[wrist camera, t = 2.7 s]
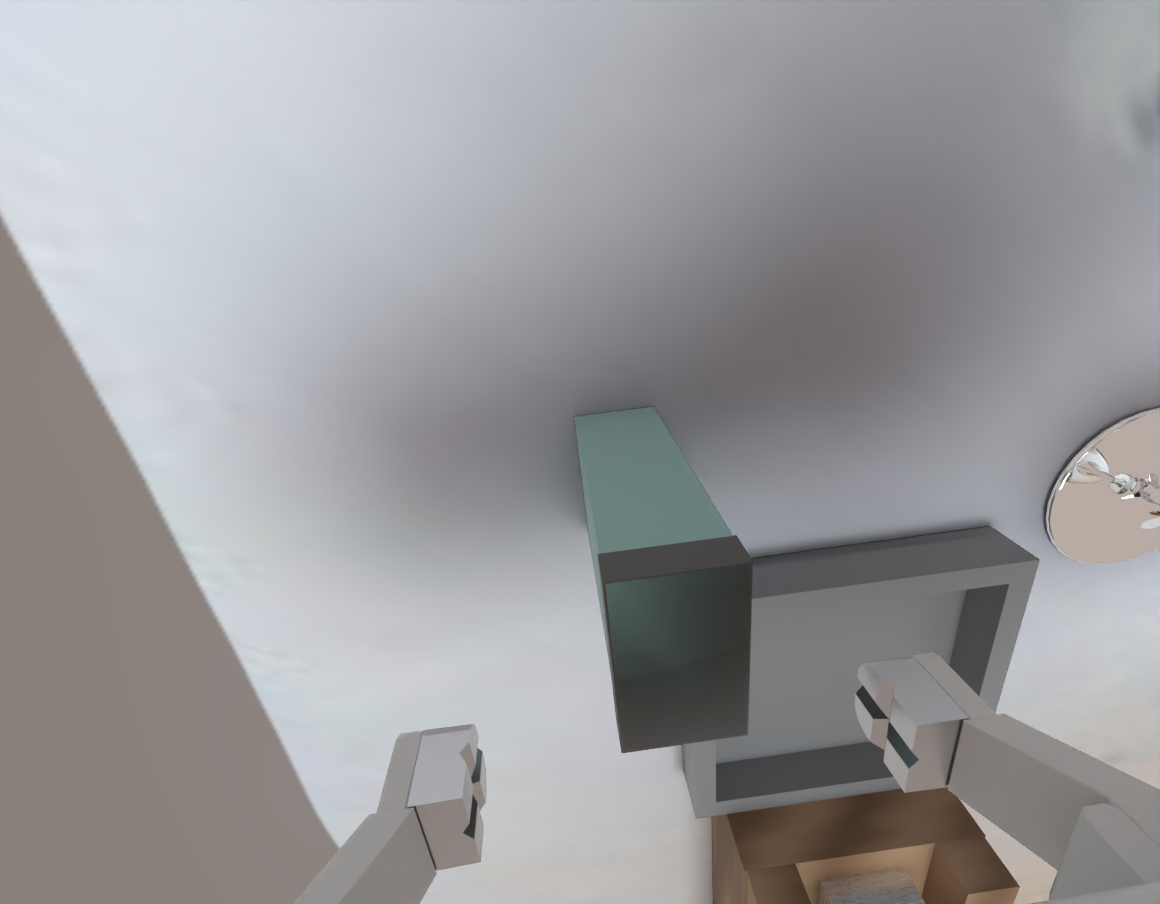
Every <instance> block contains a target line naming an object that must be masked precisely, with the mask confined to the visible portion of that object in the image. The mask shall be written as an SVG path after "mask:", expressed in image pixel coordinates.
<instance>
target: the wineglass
mask: <svg viewBox="0 0 1160 904" xmlns="http://www.w3.org/2000/svg"><path fill="white" fill-rule="evenodd" d="M1046 526H1047V532H1048V534H1049V537H1050V539H1051V542H1052V543H1053V544H1054V546H1055V547H1056V548H1057V549H1058V551H1059V552H1061V553H1062V554H1064V555H1065V556H1067V557H1068V558H1070V559H1072V560H1075V561H1078V562H1082V563H1086V564H1096V565H1102V564H1114V563H1119V562H1123V561H1127V560H1131V559H1134V558H1136V557H1139V556H1142V555H1144V554H1147V553H1149V552H1151V551H1153V550H1155V549H1157V548H1158V547H1160V408H1156V409H1152V410H1148V411H1144V412H1140V413H1138V414H1136V415H1133V416H1131V417H1128V418H1126V419H1123V420H1121V421H1120V422H1118V423H1116V424H1115V425H1113V426H1111V427H1109V428H1108V429H1106V430H1104V431H1103V432H1102V433H1100V434H1099V435H1098V436H1096V437H1095V438H1094V439H1093V440H1091V441H1090V442H1089V443H1087V444H1086V445H1085V446H1084V447H1083V448H1082V449H1081V450H1080V451H1079V452H1078V453H1077V454H1076V455H1075V456H1074V457H1073V459H1072V460H1071V461H1070V462H1069V464H1068V465H1067V466H1066V468H1065V469H1064V470H1063V471H1062V473H1061V475H1060V477H1059V478H1058V480H1057V482H1056V484H1055V485H1054V487H1053V490H1052V492H1051V495H1050V498H1049V501H1048V504H1047V511H1046Z"/></svg>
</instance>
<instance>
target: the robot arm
mask: <svg viewBox="0 0 1160 904" xmlns="http://www.w3.org/2000/svg"><path fill="white" fill-rule="evenodd" d="M857 678H858V679H859V680H860V682H861V683H862V687H861V688H860V689H859V690H858V691H857V692H856V693H855V710H856V714H857V718H858V721H859V723H860V725H861V727H862V729H863V731H864V733H865V734H866V736H867V737H868V739H869V741H870V742H872V743H873V744H875V745H877V746H878V747H880V748H881V749H883V750H884V761H883V762H884V763H885V765H886V766H887V767H888V769H889V770H890V772H891V773H892V775H893V776H894V778H895V779H896V781H897V782H898V784H899V785H900V787H901V788H902V790H903V791H904V793H907V792H914V791H922V790H929V789H937V788H945V787H948V789H947V790H949V791H950V792H951V793H953V794H954V795H956V796H957V797H958V798H960V799H961V800H962V801H964V802H965V803H966V804H968V805H969V806H971V807H972V808H973V809H975V810H976V811H977V812H979V813H980V814H981V815H983V816H984V817H986V818H987V819H988V820H990V821H991V822H992V823H994V824H995V825H996V826H998V827H999V828H1001V829H1002V830H1003V831H1005V832H1006V833H1007V834H1009V835H1010V836H1011V837H1013V838H1014V839H1016V840H1017V841H1018V842H1020V843H1021V844H1022V845H1024V846H1025V847H1027V848H1028V849H1029V850H1031V851H1032V852H1033V853H1035V854H1036V855H1037V856H1039V857H1040V858H1042V859H1043V860H1044V861H1046V862H1047V863H1048V864H1050V865H1051V866H1052V867H1054V868H1055V869H1057V870H1058V872H1057V875H1056V877H1055V880H1054V883H1053V885H1052V888H1051V891H1050V896H1049V901H1043V902H1037V903H1032V904H1160V790H1159V789H1157V788H1155V787H1153V786H1151V785H1149V784H1147V783H1145V782H1143V781H1141V780H1139V779H1136V778H1134V777H1132V776H1130V775H1128V774H1126V773H1124V772H1122V771H1120V770H1118V769H1116V768H1114V767H1112V766H1110V765H1108V764H1106V763H1104V762H1102V761H1100V760H1098V759H1096V758H1093V757H1091V756H1089V755H1087V754H1085V753H1083V752H1081V751H1079V750H1077V749H1075V748H1073V747H1071V746H1069V745H1067V744H1065V743H1063V742H1061V741H1059V740H1057V739H1055V738H1053V737H1051V736H1048V735H1046V734H1044V733H1042V732H1040V731H1038V730H1036V729H1034V728H1032V727H1030V726H1028V725H1026V724H1024V723H1022V722H1020V721H1018V720H1016V719H1014V718H1012V717H1010V716H1008V715H1006V714H999V715H997V714H996V713H995V712H994V711H993V710H992V709H991V708H990V707H989V706H988V705H987V704H986V703H985V702H984V701H983V700H982V699H981V698H980V697H979V696H978V695H977V694H976V693H975V692H974V691H973V690H972V689H971V688H970V687H969V686H968V685H967V684H966V683H965V682H964V680H963V679H962V678H961V677H960V676H959V675H958V674H957V673H956V672H955V671H954V670H953V669H952V668H951V667H950V666H949V665H948V664H947V663H946V662H945V661H944V660H943V659H942V658H941V657H940V656H939V655H937V654H935V653H933V652H932V653H925V654H919V655H913V656H908V657H906V656H904V657H898V658H892V659H886V660H880V661H874V662H868V663H862V665H861V666H860V667H859V670H858V677H857ZM477 745H478V733H477V730H476V726H475V725H474V724H469V725H461V726H453V727H445V728H437V729H429V730H424V731H416V732H409V733H401V734H400V735H399V737H398V738H397V740H396V742H395V746H394V749H393V753H392V757H391V761H390V765H389V768H388V772H387V776H386V780H385V783H384V787H383V791H382V795H381V798H380V802H379V806H378V810H377V813H375V814H370V815H368V816H367V818H366V819H365V820H364V821H363V822H362V823H361V825H360V826H359V827H358V828H357V829H356V831H355V832H354V833H353V834H352V835H351V836H350V838H349V839H348V840H347V841H346V842H345V844H344V845H343V846H342V847H341V848H340V849H339V851H338V852H337V853H336V854H335V855H334V857H333V858H332V859H331V860H330V861H329V862H328V864H327V865H326V866H325V867H324V868H323V869H322V871H321V872H320V873H319V874H318V875H317V877H316V878H315V879H314V880H313V881H312V882H311V884H310V885H309V886H308V887H307V888H306V890H305V891H304V892H303V893H302V894H301V895H300V897H299V898H298V899H297V900H296V901H295V903H294V904H419V903H420V902H421V900H422V898H423V896H424V895H425V893H426V891H427V889H428V888H429V886H430V884H431V883H432V881H433V879H434V877H435V876H436V871H437V870H442V869H447V868H452V867H457V866H462V865H468V864H473V863H478V862H481V852H482V840H483V828H484V825H483V821H482V817H481V814H480V810H481V808H482V807H483V806H484V804H485V802H486V768H485V761H484V756H483V752H482V751H481V750H479V749H478V748H477Z"/></svg>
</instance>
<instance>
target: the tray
mask: <svg viewBox="0 0 1160 904" xmlns="http://www.w3.org/2000/svg"><path fill="white" fill-rule="evenodd" d="M752 561H753V581H752V617H751V653H750V688H749V724H748V735H746V736H739V737H732V738H725V739H718V740H711V741H704V742H697V743H690V744H683V745H682V753H683V771H684V775H685V779H686V782H687V786H688V790H689V794H690V798H691V801H692V805H693V809H694V813H695V816H696V818H703V817H709V816H716V815H723V814H730V813H737V812H744V811H751V810H758V809H765V808H771V807H778V806H785V805H792V804H799V803H806V802H813V801H820V800H827V799H833V798H840V797H847V796H854V795H861V794H868V793H875V792H882V791H889V790H895V789H902V788H901V787H900V785H899V784H898V782H897V781H896V779H895V778H894V776H893V775H892V773H891V772H890V770H889V769H888V767H887V766H886V765H885V763H884V762H883V761H884V750H883V749H881V748H880V747H878V746H877V745H875V744H873V743H872V742H870V741H869V739H868V737H867V736H866V734H865V733H864V731H863V729H862V727H861V725H860V723H859V721H858V718H857V714H856V710H855V693H856V692H857V691H858V690H859V689H860V688H861V687H862V683H861V682H860V680H859V679H858V678H857V677H858V670H859V667H860V666H861V665H862V663H868V662H874V661H880V660H886V659H892V658H898V657H904V656H906V657H908V656H913V655H919V654H925V653H932V652H933V653H935V654H937V655H939V656H940V657H941V658H942V659H943V660H944V661H945V662H946V663H947V664H948V665H949V666H950V667H951V668H952V669H953V670H954V671H955V672H956V673H957V674H958V675H959V676H960V677H961V678H962V679H963V680H964V682H965V683H966V684H967V685H968V686H969V687H970V688H971V689H972V690H973V691H974V692H975V693H976V694H977V695H978V696H979V697H980V698H981V699H982V700H983V701H984V702H985V703H986V704H987V705H988V706H989V707H990V708H991V709H992V710H993V711H994V712H996V708H997V705H998V702H999V698H1000V695H1001V691H1002V688H1003V684H1004V681H1005V677H1006V674H1007V671H1008V667H1009V664H1010V660H1011V657H1012V653H1013V650H1014V646H1015V643H1016V640H1017V636H1018V633H1019V629H1020V626H1021V622H1022V619H1023V615H1024V612H1025V609H1026V605H1027V602H1028V598H1029V595H1030V591H1031V588H1032V584H1033V581H1034V578H1035V574H1036V571H1037V567H1038V564H1039V559H1038V558H1036V557H1035V556H1033V555H1032V554H1030V553H1029V552H1027V551H1026V550H1025V549H1023V548H1022V547H1020V546H1019V545H1017V544H1016V543H1014V542H1013V541H1011V540H1010V539H1008V538H1007V537H1006V536H1004V535H1003V534H1001V533H1000V532H998V531H997V530H995V529H994V528H992V527H991V526H990V527H983V528H975V529H968V530H960V531H953V532H945V533H938V534H931V535H923V536H916V537H908V538H901V539H893V540H886V541H879V542H871V543H864V544H856V545H849V546H841V547H834V548H827V549H819V550H812V551H804V552H797V553H789V554H782V555H775V556H767V557H760V558H752Z"/></svg>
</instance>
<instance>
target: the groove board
mask: <svg viewBox="0 0 1160 904" xmlns="http://www.w3.org/2000/svg"><path fill="white" fill-rule="evenodd" d="M947 789H948V787H945V788H937V789H929V790H922V791H914V792H907V793H904V791H903V790H902V789H895V790H889V791H882V792H875V793H868V794H861V795H854V796H847V797H840V798H833V799H827V800H820V801H813V802H806V803H799V804H792V805H785V806H778V807H771V808H765V809H758V810H751V811H744V812H737V813H730V814H723V815H716V816H712V865H713V904H816V901H817V893H818V885H819V879H825V878H832V877H839V876H845V875H852V874H859V873H866V872H872V871H879V870H886V869H893V868H899V867H905V868H906V870H907V872H908V873H909V875H910V877H911V879H912V881H913V882H914V884H915V886H916V888H917V889H918V891H919V893H920V895H921V896H922V898H923V900H924V902H925V904H1013V903H1014V900H1015V898H1016V895H1017V893H1018V890H1019V887H1020V886H1019V885H1018V883H1017V882H1016V881H1015V879H1014V878H1013V876H1012V875H1011V874H1010V872H1009V871H1008V870H1007V868H1006V867H1005V865H1004V864H1003V863H1002V861H1001V860H1000V858H999V857H998V856H997V854H996V853H995V852H994V850H993V849H992V847H991V846H990V845H989V843H988V842H987V840H986V839H985V834H984V833H983V832H982V830H981V829H980V827H979V826H978V825H977V823H976V822H975V820H974V819H973V818H972V816H971V815H970V814H969V812H968V811H967V809H966V808H965V807H964V805H963V804H962V803H961V801H960V800H959V798H958V797H957V796H956V795H954V794H953V793H951V792H950V791H949V790H947Z"/></svg>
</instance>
